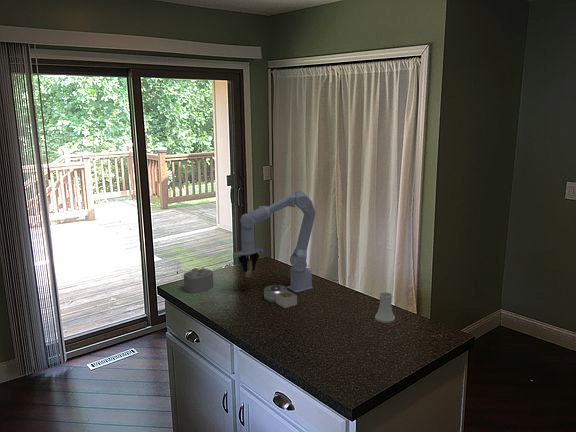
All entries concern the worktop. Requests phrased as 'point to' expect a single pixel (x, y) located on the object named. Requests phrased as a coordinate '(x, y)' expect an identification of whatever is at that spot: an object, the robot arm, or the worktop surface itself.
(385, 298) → the vase
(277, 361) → the worktop surface
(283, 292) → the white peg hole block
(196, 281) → the lumpy-topped squat cylinder
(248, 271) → the key peg
